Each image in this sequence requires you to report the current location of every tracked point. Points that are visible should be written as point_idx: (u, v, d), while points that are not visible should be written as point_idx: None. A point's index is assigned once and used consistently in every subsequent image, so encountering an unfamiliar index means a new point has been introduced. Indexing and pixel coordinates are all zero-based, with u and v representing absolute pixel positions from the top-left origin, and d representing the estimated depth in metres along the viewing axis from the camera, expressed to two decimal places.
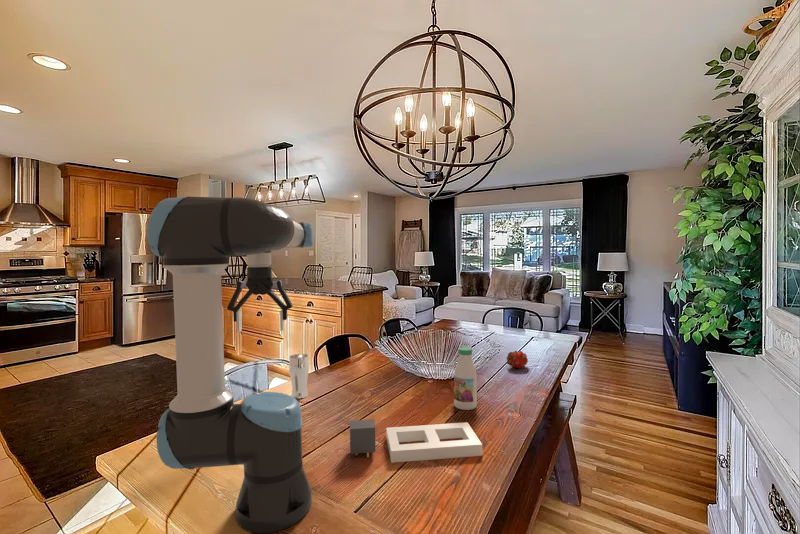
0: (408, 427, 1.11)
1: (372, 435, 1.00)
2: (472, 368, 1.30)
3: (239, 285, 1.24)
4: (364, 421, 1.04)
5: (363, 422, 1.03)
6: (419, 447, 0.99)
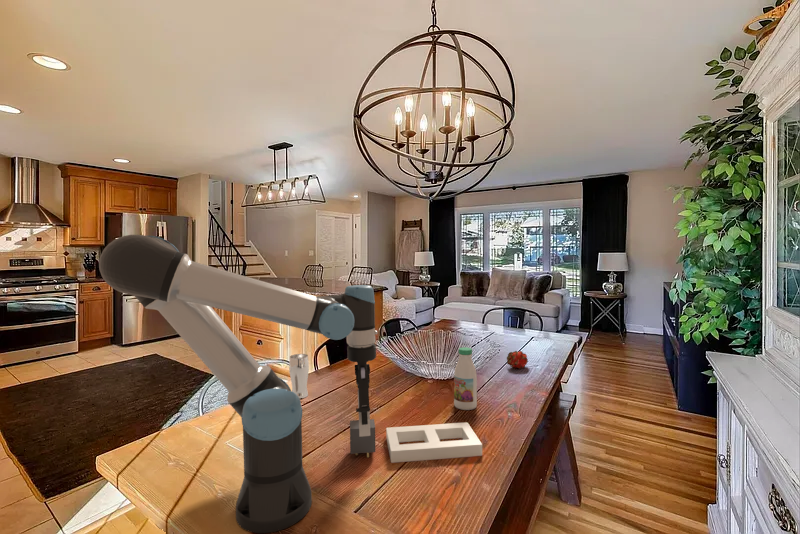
0: (408, 427, 1.11)
1: (372, 435, 1.00)
2: (472, 368, 1.30)
3: None
4: None
5: None
6: (419, 447, 0.99)
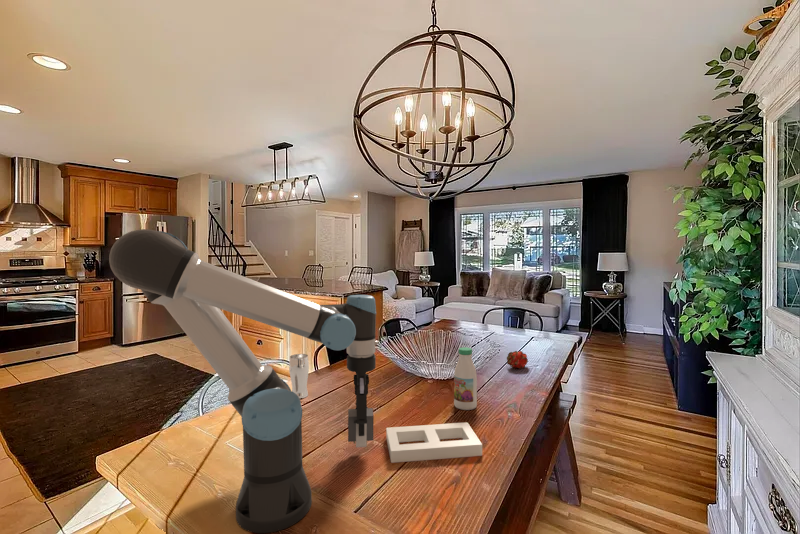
0: (408, 427, 1.11)
1: (370, 423, 1.00)
2: (472, 368, 1.30)
3: (356, 375, 1.07)
4: None
5: None
6: (419, 447, 0.99)
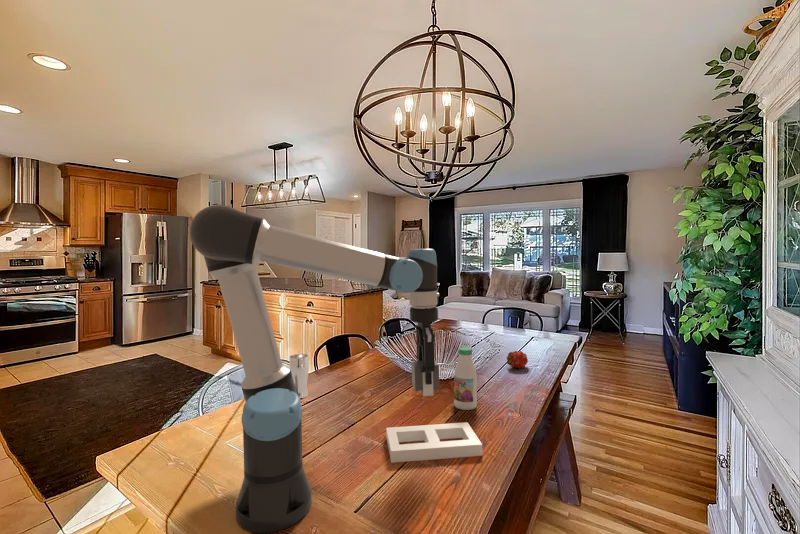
0: (408, 427, 1.11)
1: (436, 372, 1.02)
2: (472, 368, 1.30)
3: None
4: None
5: None
6: (419, 447, 0.99)
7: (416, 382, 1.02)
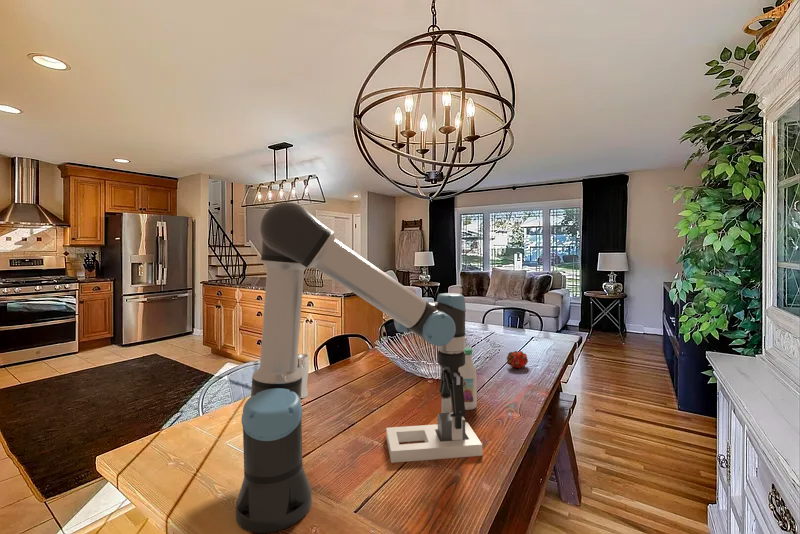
0: (408, 427, 1.11)
1: None
2: (472, 368, 1.30)
3: (442, 367, 1.11)
4: None
5: None
6: (419, 447, 0.99)
7: (443, 436, 1.04)
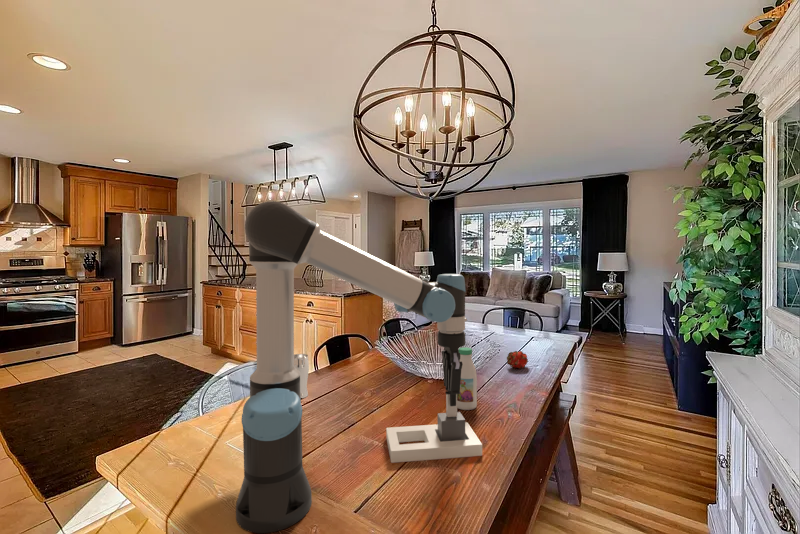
0: (408, 427, 1.11)
1: (462, 427, 1.04)
2: (472, 368, 1.30)
3: (442, 354, 1.10)
4: None
5: None
6: (419, 447, 0.99)
7: (443, 436, 1.04)
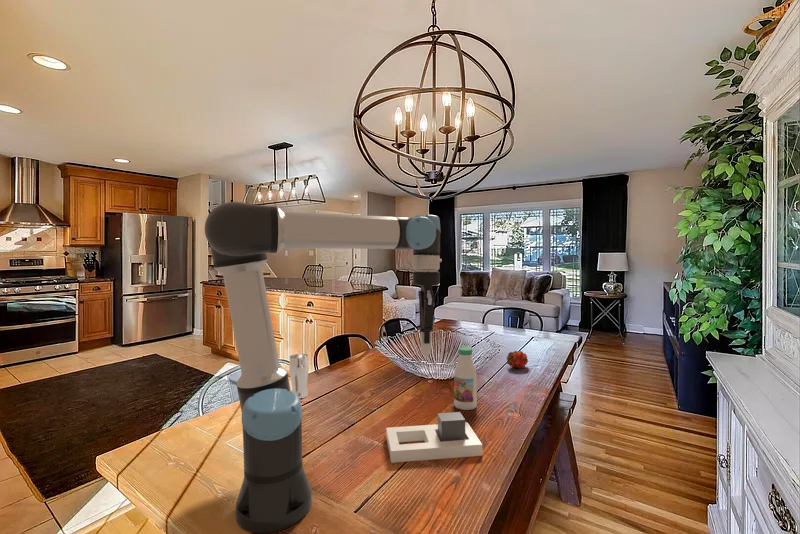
0: (408, 427, 1.11)
1: (462, 427, 1.04)
2: (472, 368, 1.30)
3: None
4: (451, 414, 1.08)
5: (451, 415, 1.07)
6: (419, 447, 0.99)
7: (443, 436, 1.04)
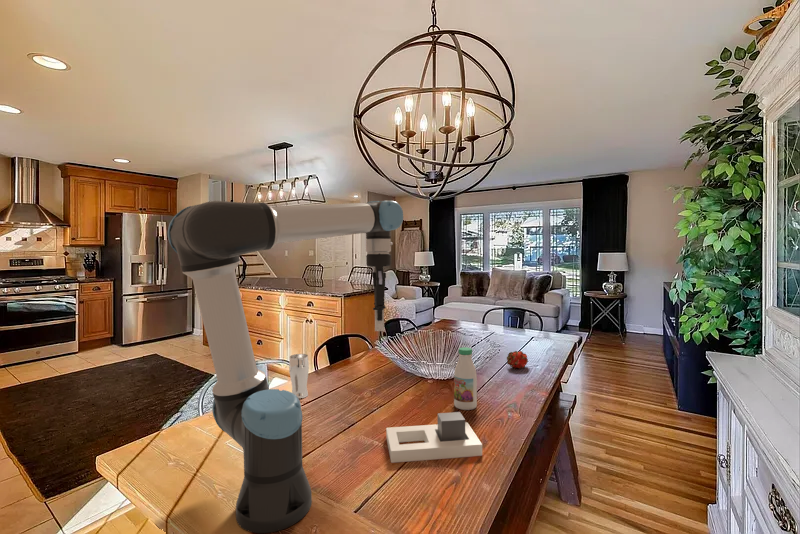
0: (408, 427, 1.11)
1: (462, 427, 1.04)
2: (472, 368, 1.30)
3: None
4: (451, 414, 1.08)
5: (451, 415, 1.07)
6: (419, 447, 0.99)
7: (443, 436, 1.04)
